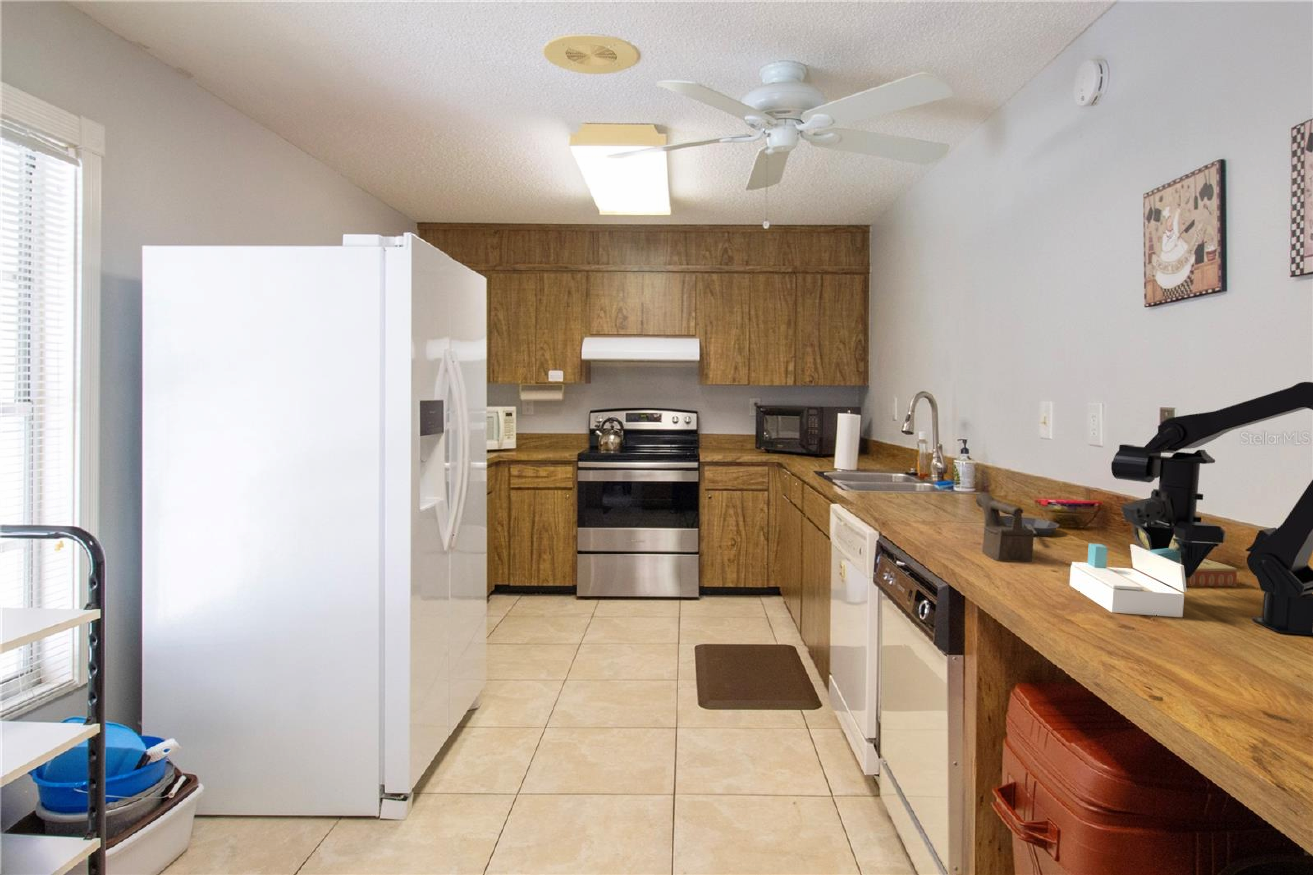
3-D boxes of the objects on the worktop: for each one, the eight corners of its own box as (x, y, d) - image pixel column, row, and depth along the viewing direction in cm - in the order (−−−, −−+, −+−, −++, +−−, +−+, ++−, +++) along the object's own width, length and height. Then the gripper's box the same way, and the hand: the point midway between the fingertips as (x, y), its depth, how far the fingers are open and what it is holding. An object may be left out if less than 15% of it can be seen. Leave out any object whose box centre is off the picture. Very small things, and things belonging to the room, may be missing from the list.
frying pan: (1053, 528, 196) (1054, 515, 196) (1075, 552, 166) (1076, 537, 166) (983, 522, 203) (984, 509, 202) (992, 544, 173) (993, 529, 173)
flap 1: (1071, 564, 136) (1073, 541, 136) (1096, 565, 135) (1098, 543, 135) (1113, 588, 119) (1115, 562, 119) (1142, 590, 119) (1144, 564, 118)
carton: (1236, 588, 138) (1238, 567, 138) (1160, 588, 137) (1162, 567, 137) (1201, 577, 147) (1203, 557, 146) (1128, 576, 145) (1130, 556, 145)
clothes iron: (997, 546, 170) (1001, 492, 169) (1034, 563, 154) (1038, 503, 153) (965, 546, 170) (968, 491, 169) (999, 562, 154) (1002, 502, 153)
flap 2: (1183, 592, 118) (1213, 589, 117) (1180, 566, 118) (1210, 563, 117) (1132, 567, 134) (1158, 564, 133) (1130, 544, 134) (1155, 541, 133)
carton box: (1182, 617, 118) (1184, 593, 118) (1111, 612, 120) (1113, 589, 119) (1130, 589, 135) (1132, 568, 134) (1069, 585, 136) (1070, 564, 136)
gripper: (1105, 477, 137) (1099, 556, 138) (1157, 491, 118) (1150, 581, 119) (1167, 480, 135) (1161, 559, 136) (1230, 494, 117) (1222, 586, 118)
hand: (1171, 570), depth 127 cm, fingers open, 9 cm apart
